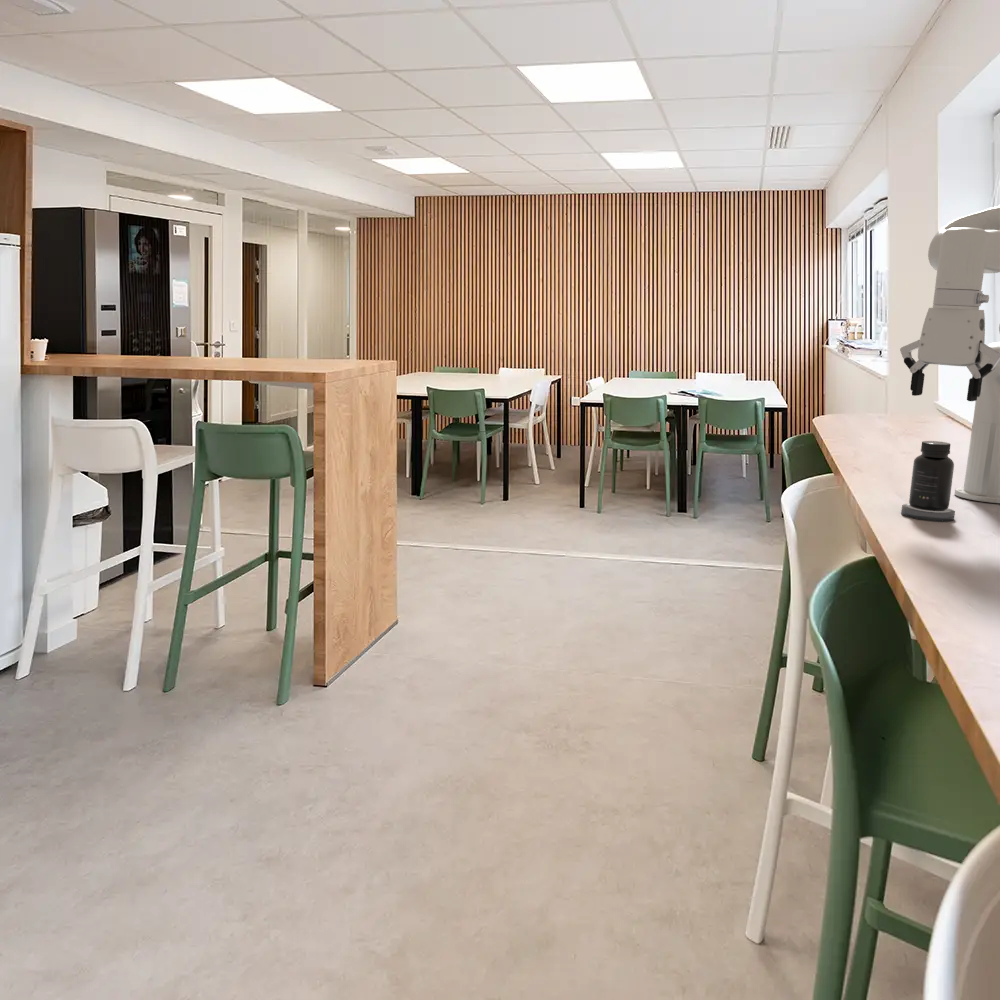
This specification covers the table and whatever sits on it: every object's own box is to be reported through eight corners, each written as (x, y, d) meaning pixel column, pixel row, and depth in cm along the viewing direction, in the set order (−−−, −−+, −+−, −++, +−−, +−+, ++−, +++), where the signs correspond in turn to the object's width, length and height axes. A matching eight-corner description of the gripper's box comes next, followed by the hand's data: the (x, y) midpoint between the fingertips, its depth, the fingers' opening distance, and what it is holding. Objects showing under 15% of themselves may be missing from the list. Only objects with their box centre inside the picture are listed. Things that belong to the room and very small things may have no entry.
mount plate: (912, 509, 192) (913, 500, 192) (961, 517, 186) (962, 509, 186) (893, 514, 186) (894, 506, 185) (943, 523, 180) (944, 515, 179)
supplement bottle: (915, 502, 190) (923, 438, 188) (953, 508, 186) (962, 443, 184) (902, 506, 185) (911, 441, 183) (941, 512, 181) (951, 446, 179)
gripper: (1015, 303, 175) (1001, 402, 179) (915, 299, 187) (904, 392, 190) (1001, 302, 170) (987, 404, 173) (899, 298, 181) (887, 394, 185)
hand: (943, 397), depth 182 cm, fingers open, 9 cm apart
